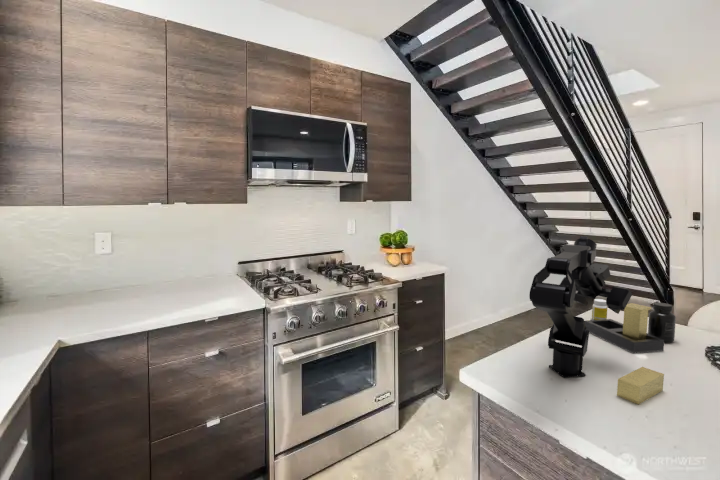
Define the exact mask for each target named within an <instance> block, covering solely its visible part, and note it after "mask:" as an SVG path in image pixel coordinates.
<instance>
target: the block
mask: <svg viewBox="0 0 720 480" xmlns="http://www.w3.org/2000/svg"><path fill="white" fill-rule="evenodd" d="M664 376H665V373H663V372H659V371H656V370H653V369H650V368H647V367H646V366H642V367H639V368H637V369H635V370H633V371H631V372H629V373H627V374H624V375H622V376H621V377H618V378H617V389H616V396H617V397H619V398H621V399H625V400H627V401H628V402H632V403H634V404H635V405H636V404H637V405H641V404H642V403H644V402H646V401H647V400H648V399H651V398H652V397H654V396H655V395H658V394H660V393H661V392H663V390H664V381H665V379H664V378H665V377H664Z"/></svg>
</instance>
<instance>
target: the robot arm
mask: <svg viewBox="0 0 720 480" xmlns="http://www.w3.org/2000/svg"><path fill="white" fill-rule="evenodd" d="M596 256H597V243H596V242H595V241H594V240H592V239H591V238H589V237H588V236H582V235H580V236H579V238H578V239H575V241H574V242H573V244H564V245H562V247H561V248H560V249H559V251H558V253H557V255H555V256H552V257H547V259H546V261H545V265H544V267H543V268H542V269H540V270H539V271H538V272H537V273H536V274H535V275H534V276H533V279H532V283H531V285H530V289H529V296H528V297H529V301H531V304H532V306H533V307H534V308H536V309H537V310H541V311H544V312H546V313H547V314H548V317H549V318H550V320H551V321H552V323H553V324H552V326H551V327H550V330H549V335H548V340H547V346H548V350H549V349H550V350H553V351H552V352H553V353H552V364H549V365H548V368H550V370H552V371H553V372H555V373H556V374H558V375H559V376H561V377H562V378H575V377H585V376H586V373H585V372H584V371H583V363H584V361H583V360H584V357H585V355H586V354H587V351H588V345H589V338H590V337H589V336H590V333H589V330H588V329H587V328H586V325H585V322H584V321H585V319H584V318H583V317H580V316H575V315H573V312H572V310H571V308H572V307H573V306H574V302H576V303H578V304H580V305H582V306H586V307H587V305H588V304H589V303H588V300H587V299H591V300H592V299H593V300H594V299H597V298H596V297H603V298H606V299H605V300H606V306H607V309H609V310H611V311H613V312H614V313H615V314H617V315H618V314H620V312H621V311H622V310H623V311H624V309H625V307H626V305H627V304H629V303H630V300H631V297H632V295H633V293H632V291H631V290H630V288H628V287H624V286H618V285H614V286H613V287H612V288H611V289H607V288H603V287H605V286H606V280H607V279H608V278H609V277H611V271H610V266H609V265H608V264H603V263H595V262H594V261H595V259H596ZM551 274H552V275H559V276H565V277H563V279H562V280H561V282H560V283H559V284H555V283H549V282H544V281H546V280H547V279H548V278H549V277H550V275H551ZM562 342H564V343H562ZM571 344H572V345H571ZM580 346H581V347H580Z"/></svg>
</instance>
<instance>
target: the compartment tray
mask: <svg viewBox="0 0 720 480" xmlns="http://www.w3.org/2000/svg"><path fill="white" fill-rule="evenodd" d="M584 322H585V325H586V328H587V329H588V330H589V334H590V335H594V336H595V337H597V338H600V340H601V339H602V340H603V341H604V340H605V341H606V342H608V343H610V344H612V345H614V346H617V347H618V348H621V349H623V350H625V351H627V352H628V353H631V354H643V353H645V354H646V353H655V352H664V349H665V347H664V346H665V343H664V340H663V339H660V338H658V337H655V336H653V335H650V334H648V332H647V334H646V340H636V341H635V340H632V339H630V338H628V337H625V336H623V323H622V322H620V321H617V320H614V319H611V318H607V319H603V320H592V319H590V320H584Z"/></svg>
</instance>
